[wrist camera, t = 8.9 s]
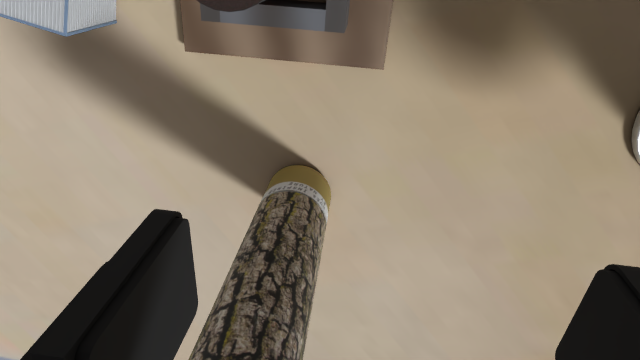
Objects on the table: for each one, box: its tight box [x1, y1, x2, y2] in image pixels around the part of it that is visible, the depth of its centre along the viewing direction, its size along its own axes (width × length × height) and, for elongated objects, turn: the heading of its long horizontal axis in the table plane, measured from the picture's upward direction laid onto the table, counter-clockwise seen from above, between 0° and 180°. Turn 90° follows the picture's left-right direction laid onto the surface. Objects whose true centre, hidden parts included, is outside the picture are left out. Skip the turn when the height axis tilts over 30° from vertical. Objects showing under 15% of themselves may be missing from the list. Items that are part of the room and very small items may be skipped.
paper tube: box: [189, 165, 331, 360], centre depth 33 cm, size 7×7×25 cm
